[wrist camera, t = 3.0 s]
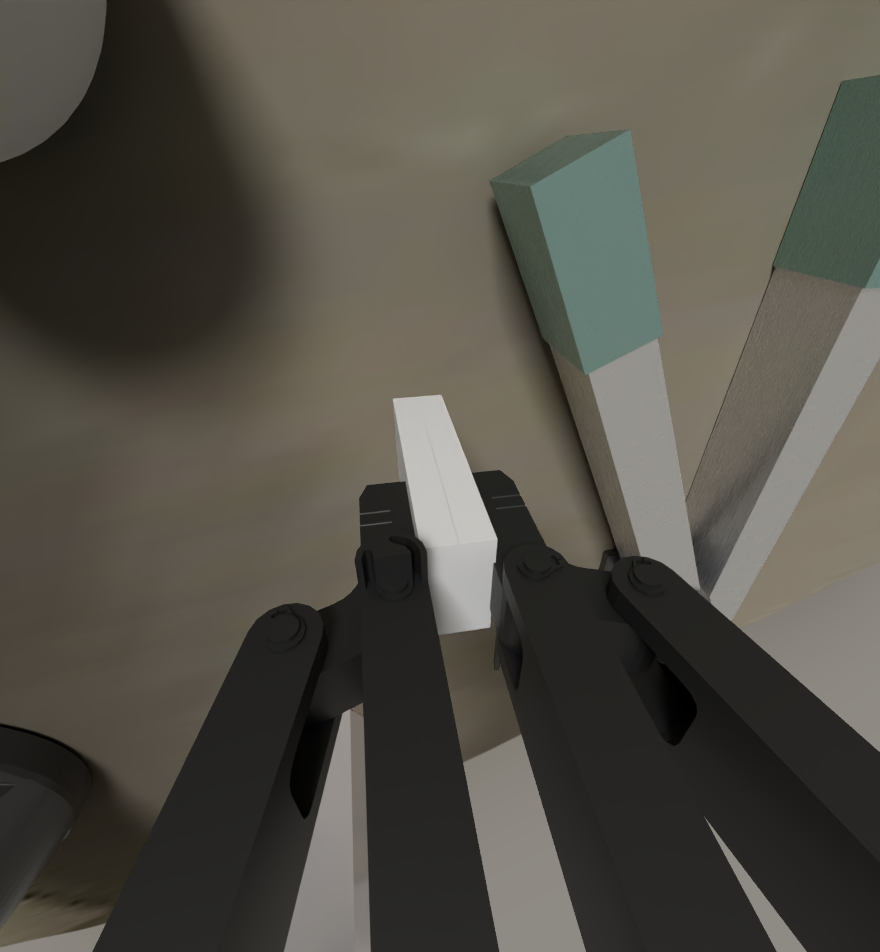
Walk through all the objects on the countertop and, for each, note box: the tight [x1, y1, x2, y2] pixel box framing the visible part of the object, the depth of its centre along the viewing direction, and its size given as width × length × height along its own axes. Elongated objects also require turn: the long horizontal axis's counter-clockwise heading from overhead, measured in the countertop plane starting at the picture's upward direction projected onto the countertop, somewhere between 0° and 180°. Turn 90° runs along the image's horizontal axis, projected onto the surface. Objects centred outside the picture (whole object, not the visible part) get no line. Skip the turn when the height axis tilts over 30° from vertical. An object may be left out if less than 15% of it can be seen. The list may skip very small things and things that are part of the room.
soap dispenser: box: [284, 710, 371, 952], centre depth 26 cm, size 6×9×22 cm
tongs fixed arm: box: [599, 75, 880, 621], centre depth 22 cm, size 8×27×4 cm, turn 1°
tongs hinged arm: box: [490, 129, 711, 603], centre depth 20 cm, size 3×24×4 cm, turn 26°
